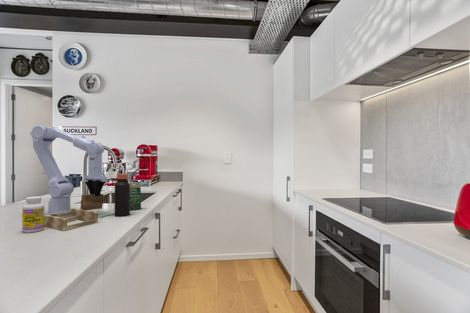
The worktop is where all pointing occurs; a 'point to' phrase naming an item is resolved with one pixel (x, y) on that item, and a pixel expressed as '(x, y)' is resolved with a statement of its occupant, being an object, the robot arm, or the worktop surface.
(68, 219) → the pine offcut
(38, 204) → the supplement bottle
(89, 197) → the walnut board
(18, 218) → the worktop surface
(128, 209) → the vinegar
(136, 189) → the coffee box
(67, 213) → the grey offcut
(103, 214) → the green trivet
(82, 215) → the oak rack
